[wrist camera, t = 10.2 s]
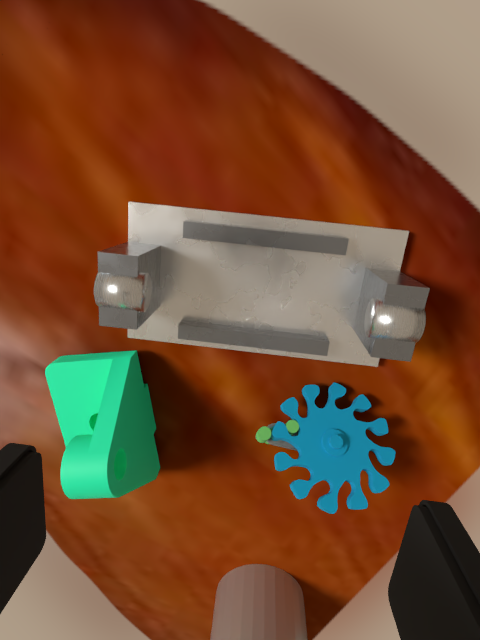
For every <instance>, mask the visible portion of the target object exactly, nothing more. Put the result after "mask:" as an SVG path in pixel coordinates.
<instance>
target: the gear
mask: <svg viewBox="0 0 480 640" xmlns="http://www.w3.org/2000/svg"><path fill="white" fill-rule="evenodd" d="M319 392H320V389H319V387H318V386H317V385H305V386H304V387H303V389H302V394H303V396H304V398H305V400H306V402H307V407H308V412H307V417H306V418H302V417H300V416H299V415H298V412H297V410H298V402H297V400H296V399H295V398H294V397H292V398H289V399H287V400H286V401H285V402H284V403H282V405H281V406H280V407H281V410H282V412H284V413H285V414H287V415H288V416H289V417H290V418H291V419H292V420H289V421H288V422H287V423H286V424H284V423H282V422H279V421H278V422H277V423H273V424H270V425H269V426H268V427H265V426H264V427H261V428H260V429H259V430H258V432H257V433H256V439H257V441H258V442H260V443H266V444H271V445H275V446H279V447H283V448H288V449H292V450H296V451H298V452H299V457H298V459H296V460H295V459H292V458H291V457H290V456H289V455H288V454H286V453H284V452H279V453H277V454H276V455H275V457H274V463H275V469H276V470H277V471H284V470H286V469H287V468H289V467H292V466H299V467H304V468H307V469H308V470H309V471H310V474H311V477H310V479H309V480H308V481H305V480H300V479H299V480H295V481H293V482H292V483H291V484H290V488H291V490H292V492H293V494H294V495H295V496H296V498H297V499H303V498H305V497H306V496H307V495H308V493H309V491H310V489H311V487H312V486H313V485H314V484H316V483H317V482H319V481H322V480H325V481H327V482H328V483H329V485H330V491H329V493H328V494H326V495H323V496H321V497H320V498H319V499H318V501H317V506H318V507H319V508H320V509H321V510H323V511H325V512H327V513H330V514H334V513H335V512H336V511H337V508H338V504H337V496H338V492H339V489H340V487H341V486H342V484H343V483H344V481H347V482H349V483H350V485H351V487H352V491H351V493H350V495H349V496H348V498H347V506H348V508H349V509H353V510H358V509H366V508H367V506H368V502H367V499H366V498H365V496H364V494H363V492H362V490H361V486H360V472H361V471H362V470H364V471H366V472H367V474H368V476H369V488H370V490H371V491H372V492H373V493H380V492H382V491H384V490H385V489H386V488H387V487H388V486H389V482H388V480H387V478H385V477H384V476H382V475H381V474H380V473H378V472H377V471H376V470H375V468H374V467H373V465H372V463H371V461H370V459H369V456H368V453H369V451H372V452H374V453H375V455H376V457H377V459H378V461H379V462H380V463H381V464H382V465H384V466H388V465H392V463H393V461H394V459H395V453H396V452H395V451H394V450H393V449H392V448H389V447H381V446H378V445H376V444H375V443H373V442H372V441H371V440H370V439H368V438H367V436H366V433H365V432H366V429H368V430H370V431H371V432H373V433H374V434H375V435H377V436H382V435H385V434H387V433H388V425H387V422H386V419H384V418H379V419H377V420H375V421H373V422H362V421H358V420H356V419H355V418H354V416H353V412H354V411H358V412H365V411H366V410H368V409H369V408H370V407H371V404H370V402H369V400H368V399H367V398H366V397H365V396H364V395H363V394H362V395H359V396H358V397H356V398H355V399H354V400H353V403H352V405H351V406H350V407H348V408H346V409H342V410H341V409H338V408H337V407H336V406H335V400H337V399H340V398H341V397H342V396H344V395H345V393H346V388H345V387H343V386H342V385H340V384H338V383H335V382H334V383H333V384H332V385H331V386H330V387H329V389H328V401H327V403H326V405H325V406H324V408H318V407H317V406H316V405H315V398H316V397H317V396H318V395H319Z"/></svg>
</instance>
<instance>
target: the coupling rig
mask: <svg viewBox="0 0 480 640" xmlns="http://www.w3.org/2000/svg"><path fill="white" fill-rule="evenodd" d="M408 234H409V231H406V230H398V229H389V228H379V227H370V226H360V225H350V224H341V223H331V222H322V221H312V220H303V219H293V218H284V217H274V216H264V215H255V214H245V213H236V212H226V211H217V210H207V209H198V208H188V207H179V206H169V205H159V204H150V203H140V202H128V242H126V243H123V244H120V245H117V246H114V247H111V248H108V249H105V250H102V251H99V252H98V274H97V276H96V279H95V284H94V298H95V302H96V304H97V305H98V306H99V325H100V326H109V327H118V328H126V329H128V338H137V339H145V340H154V341H162V342H171V343H179V344H188V345H196V346H205V347H213V348H222V349H231V350H239V351H248V352H256V353H265V354H273V355H282V356H290V357H299V358H307V359H316V360H325V361H333V362H342V363H350V364H359V365H367V366H376V367H378V363H379V359H380V358H384V359H393V360H401V361H410V362H411V358H412V355H413V351H414V347H415V343H416V342H418V341H419V340H420V339H421V337H422V335H423V332H424V329H425V323H426V314H425V305H426V301H427V297H428V293H429V290H430V288H429V287H427V286H425V285H423V284H422V283H420V282H418V281H416V280H414V279H413V278H411V277H409V276H407V275H405V274H404V273H402V272H400V269H401V264H402V260H403V256H404V251H405V247H406V243H407V239H408Z"/></svg>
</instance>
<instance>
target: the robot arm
mask: <svg viewBox="0 0 480 640" xmlns="http://www.w3.org/2000/svg"><path fill="white" fill-rule="evenodd" d="M45 539H46V525H45V507H44V489H43V472H42V457H41V454H40V453H37V452H36V449H35V447H34V446H30V445H23V444H15V443H9V444H7V445H6V446H5V447H3V448H2V449H1V450H0V614H1V612H2V610H3V609H4V607H5V606H6V604H7V603H8V601H9V600H10V598H11V597H12V595H13V594H14V592H15V590H16V589H17V587H18V586H19V584H20V583H21V581H22V580H23V578H24V576H25V575H26V574H27V572H28V571H29V569H30V567H31V566H32V564H33V563H34V561H35V560H36V558H37V557H38V555H39V554H40V552H41V550H42V548H43V546H44V543H45ZM388 596H389V602H390V606H391V609H392V612H393V616H394V619H395V622H396V625H397V629H398V632H399V635H400V638H401V640H480V553H479V551H478V550H477V548H476V546H475V545H474V543H473V541H472V540H471V538H470V536H469V535H468V533H467V531H466V530H465V528H464V527H463V525H462V523H461V522H460V520H459V518H458V517H457V515H456V513H455V512H454V510H453V508H452V507H451V506H450V505H449V504H447V503H442V502H435V501H428V500H422V501H421V502H420V504H419V506H417V505H414V506H413V508H412V511H411V514H410V517H409V520H408V524H407V527H406V530H405V533H404V537H403V540H402V543H401V547H400V550H399V553H398V556H397V560H396V563H395V567H394V570H393V573H392V576H391V580H390V583H389V588H388ZM210 640H307V629H306V618H305V607H304V596H303V592H302V588H301V587H300V585H299V583H298V582H297V581H296V580H295V579H294V578H293V577H292V576H291V575H290V574H288V573H287V572H285V571H284V570H281V569H279V568H276V567H273V566H269V565H263V564H251V565H244V566H241V567H238V568H235V569H233V570H232V571H230V572H228V573H227V574H226V575H225V576H224V577H223V578H222V579H221V581H220V582H219V584H218V588H217V592H216V600H215V607H214V615H213V623H212V631H211V639H210Z"/></svg>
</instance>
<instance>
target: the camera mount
mask: <svg viewBox="0 0 480 640" xmlns="http://www.w3.org/2000/svg"><path fill="white" fill-rule="evenodd" d="M45 375H46V379H47V382H48V386H49V389H50V393H51V396H52V400H53V403H54V407H55V410H56V414H57V417H58V421H59V424H60V428H61V431H62V435H63V438H64V442H65V445H66V449H65V452H64V455H63V458H62V463H61V485H62V488H63V491H64V493H65V495H66V496H67V497H68V498H70V499H88V498H117V497H121V496H123V495H125V494H127V493H129V492H131V491H133V490H135V489H137V488H139V487H141V486H143V485H145V484H147V483H149V482H151V481H153V480H155V479H156V477H157V475H158V472H159V470H160V463H159V458H158V453H157V448H156V443H155V438H154V432H155V430H156V424H155V419H154V414H153V408H152V403H151V398H150V393H149V388H148V384H144V383H143V378H142V373H141V368H140V363H139V358H138V353H137V350H135V351H121V352H107V353H94V354H80V355H66V356H60V357H59V358H57V359H56V360H55V361H53V362H52V363H51V364H50V365H48V366H47V368H46V370H45Z"/></svg>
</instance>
